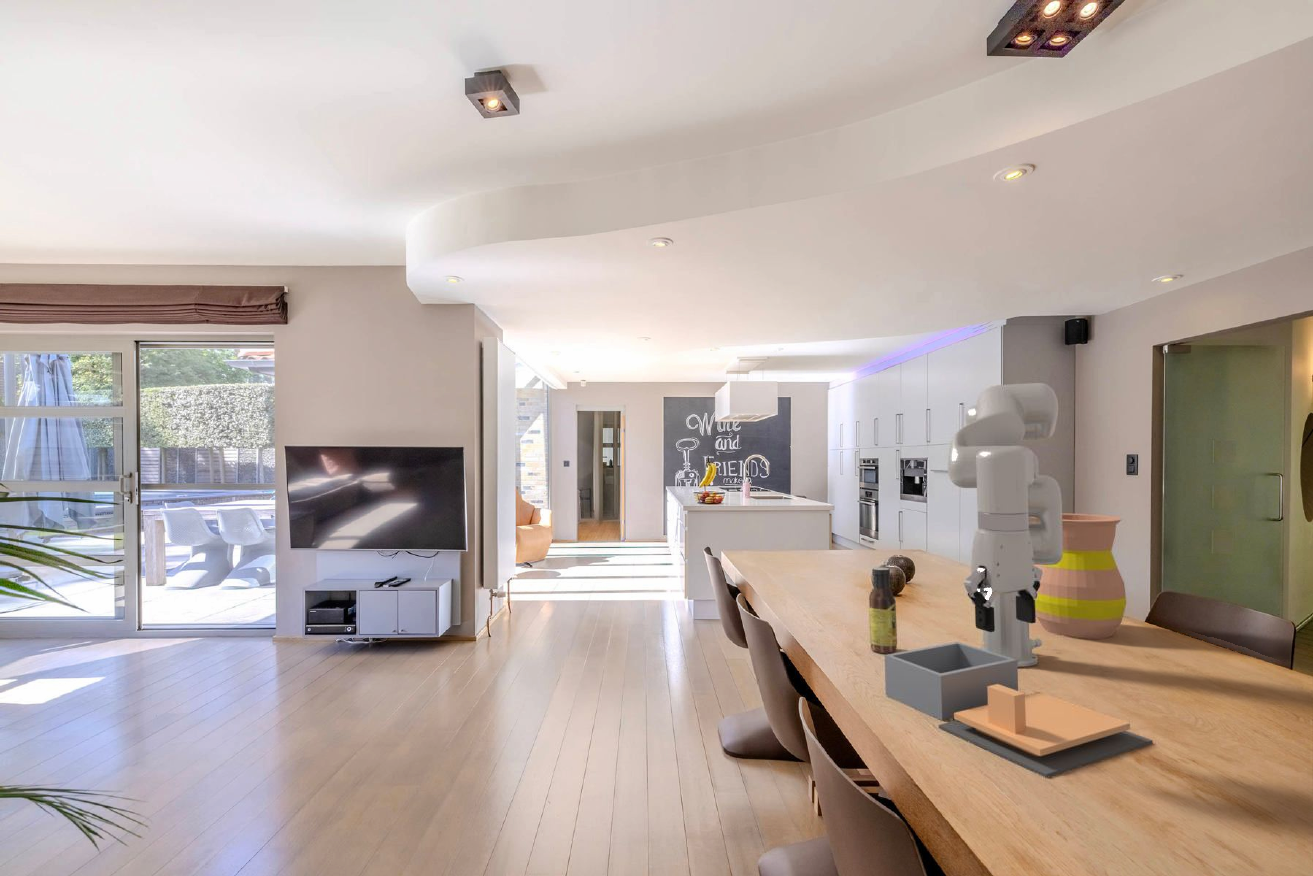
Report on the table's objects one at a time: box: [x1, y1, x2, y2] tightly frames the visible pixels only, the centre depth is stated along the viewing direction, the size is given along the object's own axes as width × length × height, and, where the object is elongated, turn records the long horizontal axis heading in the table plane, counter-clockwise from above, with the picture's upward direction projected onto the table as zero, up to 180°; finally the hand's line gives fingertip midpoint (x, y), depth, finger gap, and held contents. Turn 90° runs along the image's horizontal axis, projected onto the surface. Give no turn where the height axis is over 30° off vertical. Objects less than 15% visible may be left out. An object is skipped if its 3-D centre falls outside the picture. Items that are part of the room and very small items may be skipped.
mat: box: [938, 720, 1154, 778], centre depth 113 cm, size 26×20×1 cm
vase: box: [1028, 513, 1127, 640], centre depth 177 cm, size 22×22×30 cm
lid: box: [953, 684, 1131, 757], centre depth 113 cm, size 22×16×8 cm
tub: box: [884, 641, 1019, 721], centre depth 131 cm, size 20×14×8 cm
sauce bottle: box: [868, 567, 898, 654], centre depth 163 cm, size 7×6×20 cm
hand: (1005, 625), depth 111 cm, fingers open, 9 cm apart
